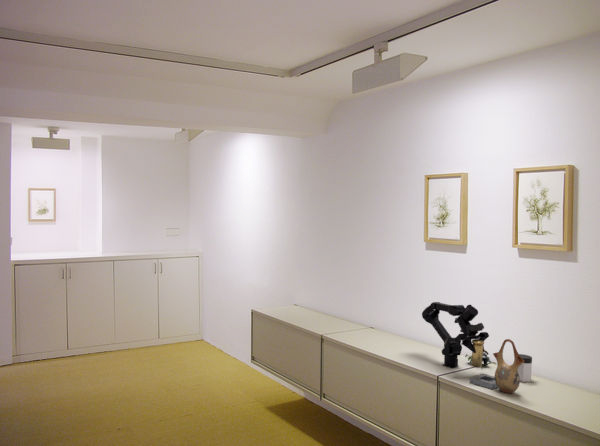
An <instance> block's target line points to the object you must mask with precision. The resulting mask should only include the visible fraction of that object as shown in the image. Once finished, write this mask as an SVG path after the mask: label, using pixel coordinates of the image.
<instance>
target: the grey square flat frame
mask: <svg viewBox="0 0 600 446" xmlns="http://www.w3.org/2000/svg"><path fill="white" fill-rule="evenodd" d="M470 383H471V384H472V385H475V386H479V387H483V388H487V389H489V390H495V389H497V388H498V386H497V385H496V382H495V376H493V375H489V374H486V373H480V374H478V375H475V376H471V377H469V384H470ZM498 389H499V388H498Z"/></svg>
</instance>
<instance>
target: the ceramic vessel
mask: <svg viewBox="0 0 600 446" xmlns="http://www.w3.org/2000/svg"><path fill="white" fill-rule="evenodd" d="M507 342H509V343H511V345H512V350H513V357H514V361H513V362H512V364H511V365H510V364H507V363H506V362H505V360H504V355H503V353H504V348H505V346H506V343H507ZM515 345H516V344H515V342H514V341H513V340H512V339H510V338H507V339H504V341H503V342H502V344H501V347H500V348H499V351H498V352H494V353H492V355H493V356H494V359H496V364H497V367H496V370H495V372H494V377H495V382H496V385H497V386H498V389H499V390H500V391H501V392H502V393H506V394H513V393H514V392H516V391H518V388H519V387H520V382H521V381H520V376H519V373H518V368H519V366H520V365H521V364H523V363H524V360H523V359H522V358H521V357H520V355H519V354H520V353H518V350H517V348H516V346H515Z"/></svg>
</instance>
